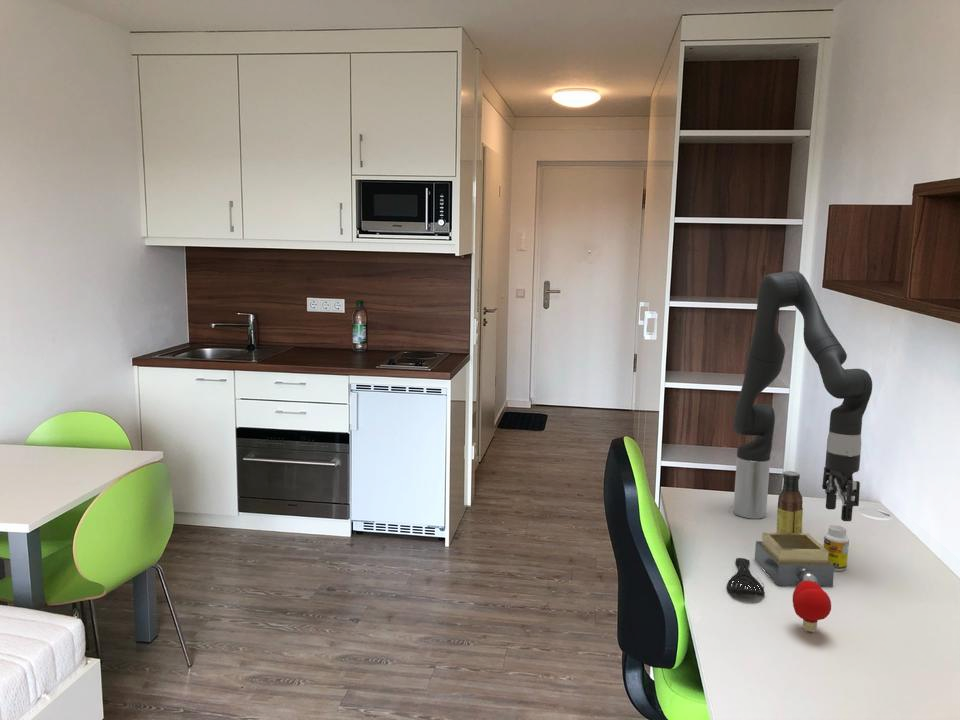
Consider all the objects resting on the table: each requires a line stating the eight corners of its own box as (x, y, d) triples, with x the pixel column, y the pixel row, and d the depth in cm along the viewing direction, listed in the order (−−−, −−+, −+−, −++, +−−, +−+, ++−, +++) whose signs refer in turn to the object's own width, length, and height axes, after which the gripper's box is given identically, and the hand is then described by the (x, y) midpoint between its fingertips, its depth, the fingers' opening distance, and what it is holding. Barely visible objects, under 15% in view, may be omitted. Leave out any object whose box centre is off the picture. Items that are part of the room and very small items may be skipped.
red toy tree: (783, 620, 161) (787, 575, 160) (817, 621, 161) (821, 576, 160) (800, 643, 152) (804, 595, 151) (836, 644, 152) (840, 596, 150)
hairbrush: (759, 552, 192) (767, 589, 168) (758, 566, 192) (766, 605, 168) (725, 548, 194) (728, 584, 170) (724, 562, 194) (727, 600, 170)
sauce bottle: (796, 541, 206) (802, 470, 203) (804, 550, 200) (810, 476, 197) (771, 540, 206) (777, 469, 204) (778, 548, 200) (783, 475, 197)
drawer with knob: (754, 560, 193) (756, 529, 192) (806, 560, 193) (808, 530, 191) (781, 591, 175) (784, 558, 174) (838, 592, 175) (841, 559, 174)
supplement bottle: (817, 565, 190) (820, 526, 189) (831, 561, 193) (834, 522, 191) (837, 573, 185) (840, 533, 184) (851, 569, 188) (855, 529, 187)
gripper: (815, 443, 192) (810, 505, 194) (841, 457, 178) (835, 524, 180) (845, 443, 192) (840, 505, 194) (873, 458, 178) (867, 525, 180)
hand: (838, 514), depth 187 cm, fingers open, 8 cm apart
